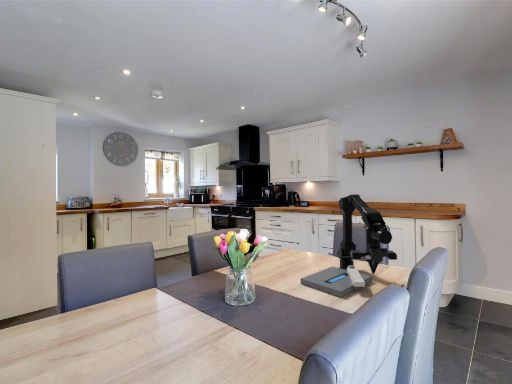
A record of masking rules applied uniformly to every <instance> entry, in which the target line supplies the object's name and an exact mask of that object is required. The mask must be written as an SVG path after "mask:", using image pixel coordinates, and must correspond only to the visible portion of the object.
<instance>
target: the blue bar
mask: <svg viewBox="0 0 512 384" xmlns="http://www.w3.org/2000/svg"><path fill="white" fill-rule="evenodd" d="M345 277H347V276H345V275H341V276H339V277H336V278H334V279H331V280H329V281H328V283H329V284H331V283H334V282H336V281H338V280H340V279H343V278H345Z"/></svg>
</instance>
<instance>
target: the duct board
mask: <svg viewBox="0 0 512 384" xmlns="http://www.w3.org/2000/svg"><path fill="white" fill-rule="evenodd" d="M359 273H360V275H361V277H362V278H363V280H364V282H365V286H366V285H368V284H369V283H371V282H373V281H372V279H373V277H372V275H368V274H364V273H361V272H359ZM341 275H345V276H347V277H345V278H343V279H340V280H338V281H336V282H334V283H331V284H329V283H328V281H329V280H331V279H334V278H336V277H339V276H341ZM300 285H304V286H305V287H309V288H313V289H314V290H319V291H322V292H324V293H328V294H330V295H333V296H336V297H338V298H342V297H345V296H346V295H348V294H350V293H353V292H355V291H356V290H358V289H360V288H361V287H354V285H353V283H352V281H351V279H350V277H349V275H348V273H347V270H344V269H340V268H339V267H336V266H330V267H328V268H325V269H322V270H319V271H317V272H315V273H311V274H309V275H305V276H303V277H301V278H300Z"/></svg>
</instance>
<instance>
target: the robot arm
mask: <svg viewBox="0 0 512 384" xmlns="http://www.w3.org/2000/svg"><path fill="white" fill-rule="evenodd" d="M338 206H339V210H340V212H341V213H342V240H341V242H340V244H339V248H338V251H337V252H336V257H337V258H338V259H339V267H338V268H340V269H344V270H347V268H348V266H349V265H353V266H355V264H354V263H355V262H354V260H361V259H362V258H363V260H365V261H366V262H367V263H368V266H369V268H370V271H371V273H372V274H373V275H375V273H376V271H377V268H378V266H379V264H380V263H381V262H383V261H384V258H387V259H389V261H390V260H392V261H393V260H394V261H395V260H396V261H397V260H398V255H397V253H396V252H395V251H393V250H391V249H389V250H388V248H386V247H381V244H382V245H388V244H390V243H391V242H392V240H393V235H392V233H391V232H390V231H389V230H388V227H387V224H386V222H385V220H384V217H383V216H382V214H381V212H380V211H378V210H377V209H375V208H371V207H370V206H369V205H368V204H367V203H366V202H365V201H364V200H363V198H361V196H360V194H358V193H357V194H349V195H347V196H344V197H341V198H340V199H339V200H338ZM355 210H357V211H358V212H359V213H360V214H361V217H360V218H361V220H362V222H363V223H364V226H363V229H365V251H363V252H361V250H359V249H358V250H357V245H356V244H355V243H354V241H353V213H354V212H355Z"/></svg>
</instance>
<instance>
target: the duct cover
mask: <svg viewBox="0 0 512 384" xmlns="http://www.w3.org/2000/svg"><path fill="white" fill-rule="evenodd" d="M347 273H348V275H349V277H350V279H351V281H352V283H353V285H354V287H360V288H365V287H366V285H365V282H364V280H363V278H362V277H361V275H360V273H361V272H359V270H358V268H357V267H356V266H355V265H354V266H353V265H349V266H348V268H347Z"/></svg>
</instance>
